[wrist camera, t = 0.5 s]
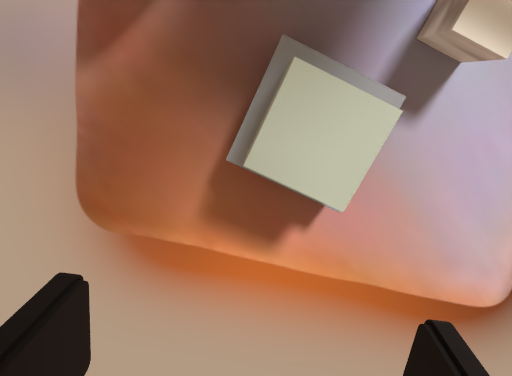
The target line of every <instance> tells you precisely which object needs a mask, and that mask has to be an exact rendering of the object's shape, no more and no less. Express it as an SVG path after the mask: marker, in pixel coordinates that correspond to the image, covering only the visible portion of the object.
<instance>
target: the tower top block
mask: <svg viewBox="0 0 512 376" xmlns="http://www.w3.org/2000/svg"><path fill="white" fill-rule="evenodd" d="M402 112H403V111H402V110H400V109H398V108H396V107H394V106H392V105H390V104H388V103H386V102H384V101H382V100H380V99H378V98H376V97H374V96H372V95H370V94H368V93H366V92H364V91H362V90H360V89H358V88H356V87H354V86H352V85H350V84H348V83H347V82H345V81H343V80H341V79H339V78H337V77H335V76H333V75H331V74H329V73H327V72H325V71H323V70H321V69H319V68H317V67H315V66H313V65H311V64H309V63H307V62H305V61H303V60H301V59H299V58H297V57H294V58H293V59H291V61H290V63H289V65H288V67H287V69H286V71H285V74H284V76H283V78H282V80H281V82H280V84H279V86H278V88H277V91H276V93H275V95H274V97H273V99H272V101H271V103H270V105H269V108H268V110H267V112H266V114H265V116H264V118H263V120H262V122H261V125H260V127H259V129H258V131H257V133H256V135H255V137H254V139H253V142H252V144H251V146H250V148H249V150H248V152H247V155H246V159H245V162H244V165H243V166H245V167H247V168H249V169H251V170H253V171H255V172H258V173H260V174H262V175H264V176H266V177H268V178H270V179H273V180H275V181H277V182H279V183H281V184H283V185H286V186H288V187H290V188H292V189H294V190H296V191H298V192H301V193H303V194H305V195H307V196H309V197H311V198H314V199H316V200H318V201H320V202H322V203H324V204H326V205H329V206H331V207H333V208H335V209H337V210H339V211H342V212H344V210H345V209H346V207H347V205H348V203H349V202H350V200H351V198H352V197H353V195H354V193H355V192H356V190H357V188H358V186H359V185H360V183H361V181H362V180H363V178H364V176H365V175H366V173H367V171H368V169H369V168H370V166H371V164H372V163H373V161H374V159H375V158H376V156H377V154H378V152H379V151H380V149H381V147H382V146H383V144H384V142H385V141H386V139H387V137H388V135H389V134H390V132H391V130H392V129H393V127H394V125H395V124H396V122H397V120H398V118H399V117H400V115H401V113H402Z"/></svg>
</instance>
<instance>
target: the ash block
mask: <svg viewBox="0 0 512 376" xmlns="http://www.w3.org/2000/svg"><path fill="white" fill-rule="evenodd" d="M416 39H417V40H419V41H421V42H423V43H425V44H427V45H429V46H431V47H432V48H434V49H436V50H438V51H440V52H442V53H444V54H446V55H448V56H450V57H451V58H453V59H455V60H457V61H459V62H474V61H487V60H500V59H507V58H508V56H509V55H510V53H511V52H512V0H438V1H437V3H436V5H435V6H434V8H433V10H432V12H431V13H430V15H429V17H428V19H427V21H426V22H425V24H424V26H423V28H422V29H421V31H420V33H419V35H418V36H417V38H416Z"/></svg>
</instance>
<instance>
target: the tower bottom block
mask: <svg viewBox="0 0 512 376" xmlns="http://www.w3.org/2000/svg"><path fill="white" fill-rule="evenodd" d="M294 57H297V58H299V59H301V60H303V61H305V62H307V63H309V64H311V65H313V66H315V67H317V68H319V69H321V70H323V71H325V72H327V73H329V74H331V75H333V76H335V77H337V78H339V79H341V80H343V81H345V82H347V83H348V84H350V85H352V86H354V87H356V88H358V89H360V90H362V91H364V92H366V93H368V94H370V95H372V96H374V97H376V98H378V99H380V100H382V101H384V102H386V103H388V104H390V105H392V106H394V107H396V108H398V109H400V107H401V105H402V104H403V102H404V100H405V99H406V96H404V95H402V94H400V93H398V92H396V91H394V90H392V89H390V88H388V87H387V86H385V85H383V84H381V83H379V82H377V81H375V80H373V79H371V78H369V77H367V76H365V75H363V74H361V73H359V72H357V71H355V70H353V69H351V68H349V67H347V66H345V65H343V64H341V63H339V62H337V61H335V60H333V59H331V58H329V57H327V56H326V55H324V54H322V53H320V52H318V51H316V50H314V49H312V48H310V47H308V46H306V45H304V44H302V43H300V42H298V41H296V40H294V39H292V38H290V37H288V36H286V35H284V34H283V35H282V37H281V39H280V41H279V44H278V46H277V48H276V50H275V52H274V55H273V57H272V59H271V61H270V63H269V66H268V68H267V70H266V72H265V74H264V77H263V79H262V81H261V83H260V85H259V88H258V90H257V92H256V94H255V96H254V99H253V101H252V103H251V105H250V107H249V110H248V112H247V114H246V116H245V118H244V121H243V123H242V125H241V127H240V130H239V132H238V134H237V136H236V138H235V141H234V143H233V145H232V147H231V149H230V152H229V154H228V156H227V158H226V160H227V161H229V162H231V163H233V164H235V165H238V166H240V167H242V168H244V169H246V170H248V171H251V172H253V173H255V174H257V175H259V176H261V177H264V178H266V179H268V180H270V181H272V182H274V183H276V184H279V185H281V186H283V187H285V188H287V189H289V190H292V191H294V192H296V193H298V194H300V195H302V196H304V197H307V198H309V199H311V200H313V201H315V202H317V203H320V204H322V205H324V206H326V207H328V208H330V209H333V210H335V211H337V212H340V211H339V210H337V209H335V208H333V207H331V206H329V205H326V204H324V203H322V202H320V201H318V200H316V199H314V198H311V197H309V196H307V195H305V194H303V193H301V192H298V191H296V190H294V189H292V188H290V187H288V186H286V185H283V184H281V183H279V182H277V181H275V180H273V179H270V178H268V177H266V176H264V175H262V174H260V173H258V172H255V171H253V170H251V169H249V168H247V167H245V166H243V165H244V162H245V159H246V155H247V152H248V150H249V148H250V146H251V144H252V142H253V139H254V137H255V135H256V133H257V131H258V129H259V127H260V125H261V122H262V120H263V118H264V116H265V114H266V112H267V110H268V108H269V105H270V103H271V101H272V99H273V97H274V95H275V93H276V91H277V88H278V86H279V84H280V82H281V80H282V78H283V76H284V74H285V71H286V69H287V67H288V65H289V63H290V61H291V59H293V58H294Z"/></svg>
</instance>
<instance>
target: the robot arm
mask: <svg viewBox="0 0 512 376" xmlns="http://www.w3.org/2000/svg"><path fill="white" fill-rule="evenodd" d="M89 314H90V313H89V284H88V282H87V281H84V280H83V277H82V276H81V275H77V274H69V273H58V274H57V275H55V276H54V277H53V278H52V279H51V280H50V281H49V282H48V283H47V284H46V285H45V286H44V287H43V288H42V289H40V290H39V291H38V292H37V293H36V294H35V295H34V296H33V297H32V298H31V299H30V300H29V301H28V302H26V303H25V305H23V306H22V307H21V308H20V309H19V310H18V311H17V312H16V313H15V314H14V315H13V316H12V317H10V319H8V320H7V321H6V322H5V323H4V324H3V325H2V326H1V327H0V376H84V375H85V373H86V371H87V370H88V367H89V364H90V359H91V350H90V315H89ZM403 376H489V374H488V373H487V371H486V370H485V369H484V367H483V366H482V365H481V363H480V362H479V360H478V359H477V358H476V356H475V355H474V354H473V352H472V351H471V349H470V348H469V347H468V345H467V344H466V343H465V341H464V340H463V338H462V337H461V336H460V334H459V333H458V332H457V330H456V329H455V327H454V326H453V325H452V324H451V323H450V322H445V321H437V320H426V321H425V323H424V324H420V325H419V326H418V329H417V332H416V335H415V338H414V342H413V345H412V348H411V351H410V354H409V358H408V361H407V364H406V367H405V370H404V374H403Z"/></svg>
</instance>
